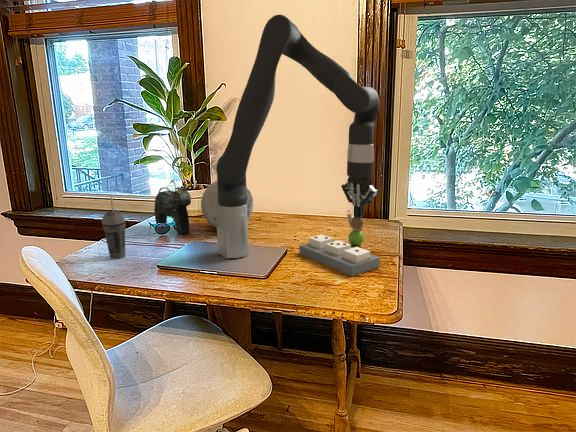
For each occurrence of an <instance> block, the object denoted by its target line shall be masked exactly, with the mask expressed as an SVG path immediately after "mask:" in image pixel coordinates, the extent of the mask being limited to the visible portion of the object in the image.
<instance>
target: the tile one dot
mask: <svg viewBox="0 0 576 432" xmlns="http://www.w3.org/2000/svg"><path fill="white" fill-rule="evenodd" d="M370 254H371V251H370V250H368V249H364V248H361V247H359V246H355V247H354V246H353V247H352V248H351V249H347V250H344V259H347V260H349V261H352V262H354V263H360V262H363V261H366V260H369V259H370Z"/></svg>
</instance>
